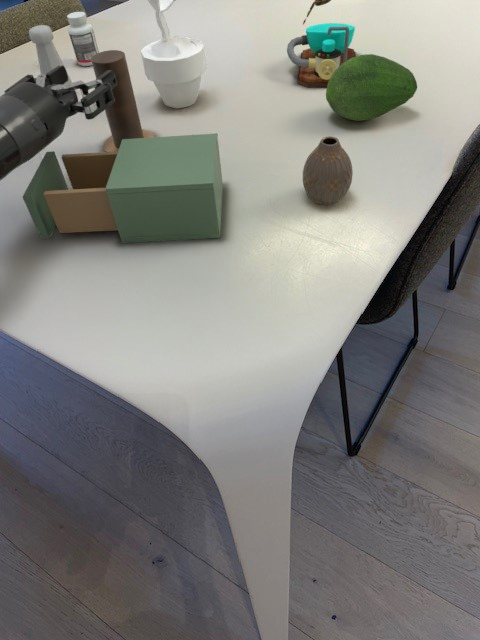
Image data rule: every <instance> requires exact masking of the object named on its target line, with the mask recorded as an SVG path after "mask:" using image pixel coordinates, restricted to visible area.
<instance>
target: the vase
mask: <svg viewBox="0 0 480 640" xmlns="http://www.w3.org/2000/svg"><path fill="white" fill-rule="evenodd" d="M353 173H354V171H353V163H352V161H351V158H350V156H349V154H348V153H347V151H345V149H344V148H343V146H342V145H341V142H340V140H339V138H338V137H335V136H325V137H322V138H321V139H320V141H319V143H318V145H317V146H316V147H315V148H314V149H313V150H312V151H311V152H310V153H309V155H308V156H307V158H306V160H305V162H304V165H303V168H302V185H303V189H304V191H305V194H306V195H307V197H309V199H311V200H312V201H313V202H315V203H316V204H319V205H324V206H328V205H329V206H330V205H333V204H336V203H338V202H339V201H341V200H342V199H343V198H344V197H345V196H346V195H347V193H348V192H349V190H350V188H351V185H352V181H353V176H354V175H353Z"/></svg>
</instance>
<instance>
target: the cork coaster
mask: <svg viewBox="0 0 480 640" xmlns="http://www.w3.org/2000/svg"><path fill="white" fill-rule="evenodd" d="M142 132H143V136H144V138H152V137H156V136H155V134H153V132H151V131H149V130H145V129H142ZM103 149H104V152H115V151H118V150H119V148H117V147H115V145H114V141H113V137H112V135H111V136H109V137H108V138H107V139H106V140H105V141H104V143H103Z"/></svg>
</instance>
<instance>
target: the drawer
mask: <svg viewBox="0 0 480 640" xmlns="http://www.w3.org/2000/svg"><path fill="white" fill-rule="evenodd" d="M117 153H118V151H115V152H105V151H99V152H84V153H68V154H62V155H61V161H62V164H63V166H64V169H65V171H66V175H67V177H68V178H69V182H70V185H71V188H72V189H69V186H68V184H67V181H66V179H65V178H66V177H65V176H64V173H63V171H62V167H61V165H60V163H59V160H58V157H57V155H56V152H55V150H54V151H53V150H52V151H46V152H45V154H44V156H43V157H42V159H41V161H40V163H39V165H38V167H37V168H36V171H35V173H34V174H33V176H32V178H31V180H30V182H29V184H28V186H27V187H26V189H25V191H24V193H23V195H22V200H23V202H24V204H25V206H26V208H27V210H28V212H29V215H30V217H31V219H32V221H33V223H34V226H35V228H36V230H37V232H38V234H39V236H40V238H41V240H48V239H51V237H52V235H53V232H54V230H55V227H57V231H58V232H59V234H67V233H69V234H70V233H88V232H109V231H118V228H117V225H116V222H115V219H114V215H113V212H112V209H111V206H110V203H109V199H108V196H107V193H106V190H105V189H106V186H107V183H108V180H109V177H110V174H111V171H112V168H113V165H114V162H115V159H116V156H117Z"/></svg>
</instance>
